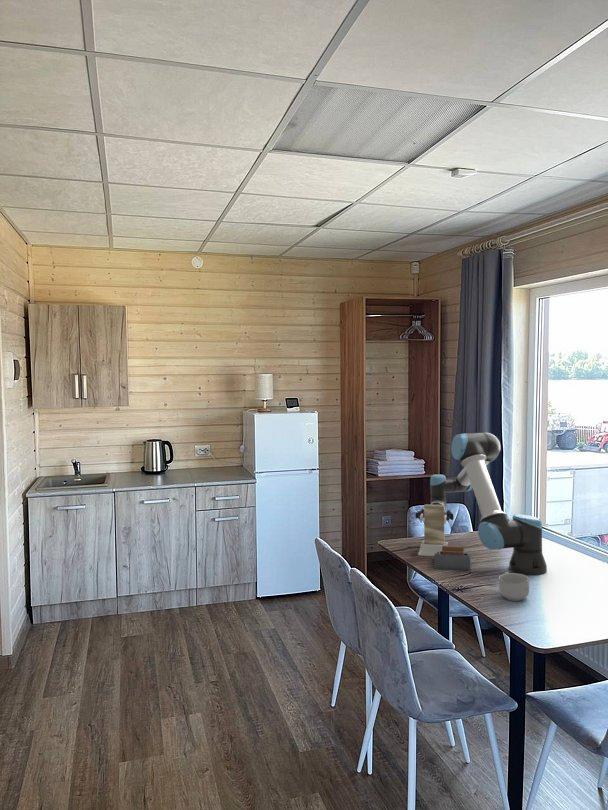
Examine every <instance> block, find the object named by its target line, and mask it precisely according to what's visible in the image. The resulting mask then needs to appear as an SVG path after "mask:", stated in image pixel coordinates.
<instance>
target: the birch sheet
mask: <svg viewBox="0 0 608 810" xmlns="http://www.w3.org/2000/svg"><path fill="white" fill-rule="evenodd" d="M423 506H424V507H423V509H424V518H423V521H424V522H423V523H424V524H423V525H424V526H423V527H424V528H423V529H424V530H423V536H424V538H423V541H424V544H433V545H444V542H445V524H444V505H432V504H431V503H430V504H429V503H426V504H425V503H424V505H423Z"/></svg>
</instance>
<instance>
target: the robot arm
mask: <svg viewBox="0 0 608 810" xmlns="http://www.w3.org/2000/svg"><path fill="white" fill-rule="evenodd" d="M450 448H451V455H452V457H453V459H455V460H457V461H459V462H460V465H461V466H462V467H463V469H462V470H461V471H460V472H459V474H457V476H456V477H446V475H445V474H436V473H435V474H432V475H431V476H430V482H429V483H430V484H429V485H430V504H432V505H444V525H445V524H447V522H449V521H450V520H451V521H454V514H453V512H452V511H451V510H450V509H448V510H446V508H447V497H446V495H447V494H449V493H462V492H463V493H464V492H465V493H467V492H470V491H472V490H473V493H474V497H475V499H476V503H477V505H478V508H479V511H480V515H481V518H480V520H479V521H480V523H479V525H478V526H477V533H478V537H479V540H480V542H481V544H482V545H483V546H484V547H486V548H487V549H488V550H497V551H499V550H504V549H510V548H512V549H513V550H512V554H511V557H510V560H509V564H508V565H509V570H510V571H512V572H513V573H517V574H523V575H530V576H531V575H534V576H535V575H543V574H546V573H547V571H548V570H547V569H548V568H547V567H548V565H547V563H546V560H545V556H544V555H543V526H542V525H543V523H542V520H541V518H538V517H536V516H532V515H528V514H519V513H517V514H513V515H512V519H510V518H509V517H508V514H507V513H506V512H504V511H503V510H502V508H501V505H500V502H499V498H498V497H497V494H496V491H495V488H494V484H493V483H492V479H491V477H490V474H489V471H488V469H487V466H488V465H489V464H490V463H491V462H493V461H495V460H496V459H497V458H498V457H499V455H500V452H501V443H500V440H499V438H498V437H497V436H495V435H494V434H493V433H491V432H471V433H460V434H459V433H458V434H456V435H455V436H454V437H453V438H452V442H451V447H450ZM415 519H418V520H419V523H423V521H424V508H422V509H420V510H419V511H416V512H415Z"/></svg>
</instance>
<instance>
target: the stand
mask: <svg viewBox="0 0 608 810" xmlns="http://www.w3.org/2000/svg"><path fill="white" fill-rule="evenodd" d="M448 544H449V542H448V541H444V545H446V546H449V545H448ZM419 545H420V546H419V547H420V548H419V551H418V553H417V556H426V557H434V554H437V552H439V554H440V551H442V546H443V545H433V544H424V540H421V543H420V544H419Z"/></svg>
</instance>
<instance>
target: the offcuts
mask: <svg viewBox="0 0 608 810" xmlns="http://www.w3.org/2000/svg"><path fill="white" fill-rule="evenodd" d="M464 549H465V548H464V546H460V545H448V546H446V545H443V546H442V554H449V555H464V553H465V550H464Z"/></svg>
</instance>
